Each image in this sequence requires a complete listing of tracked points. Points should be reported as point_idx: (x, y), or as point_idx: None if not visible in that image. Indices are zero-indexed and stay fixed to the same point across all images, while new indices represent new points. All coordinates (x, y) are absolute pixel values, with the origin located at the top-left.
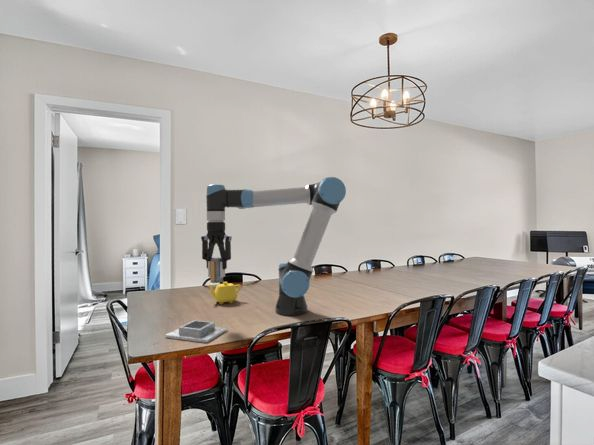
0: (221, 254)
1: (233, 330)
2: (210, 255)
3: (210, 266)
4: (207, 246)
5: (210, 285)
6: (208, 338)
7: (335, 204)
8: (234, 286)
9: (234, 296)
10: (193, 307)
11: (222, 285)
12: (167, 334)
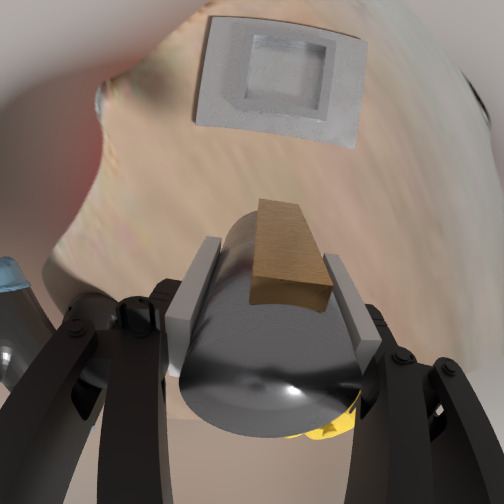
0: (133, 403)
1: (177, 130)
2: (372, 422)
3: (314, 251)
4: None
5: None
6: (214, 28)
7: None
8: None
9: None
10: (400, 331)
11: (336, 421)
12: (363, 44)
